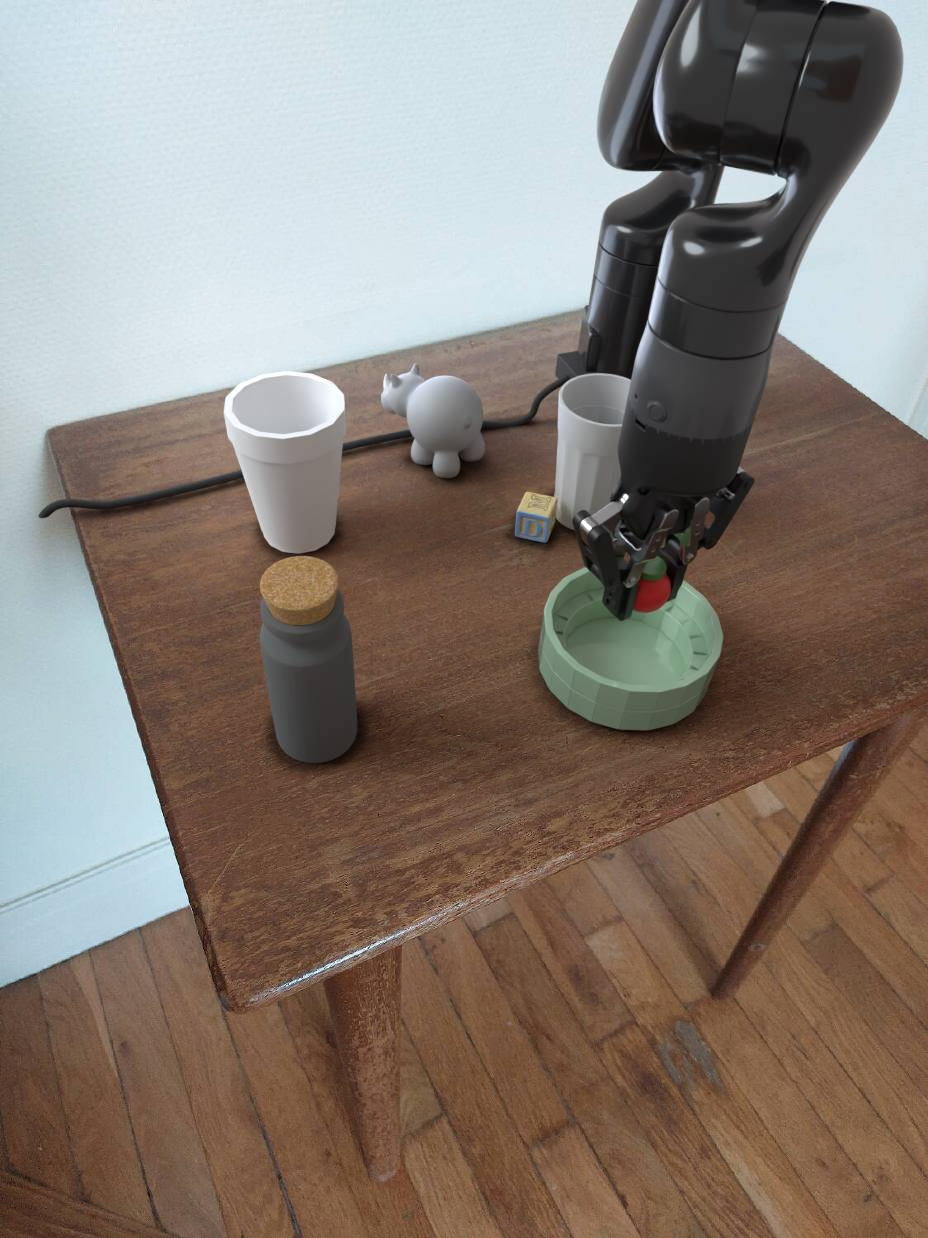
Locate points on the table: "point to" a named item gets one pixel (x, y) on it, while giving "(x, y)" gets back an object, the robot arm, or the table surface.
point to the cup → (588, 443)
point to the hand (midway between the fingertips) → (639, 602)
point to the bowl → (627, 655)
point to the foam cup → (289, 454)
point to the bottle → (308, 659)
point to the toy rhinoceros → (437, 418)
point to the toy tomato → (653, 587)
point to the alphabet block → (536, 517)
